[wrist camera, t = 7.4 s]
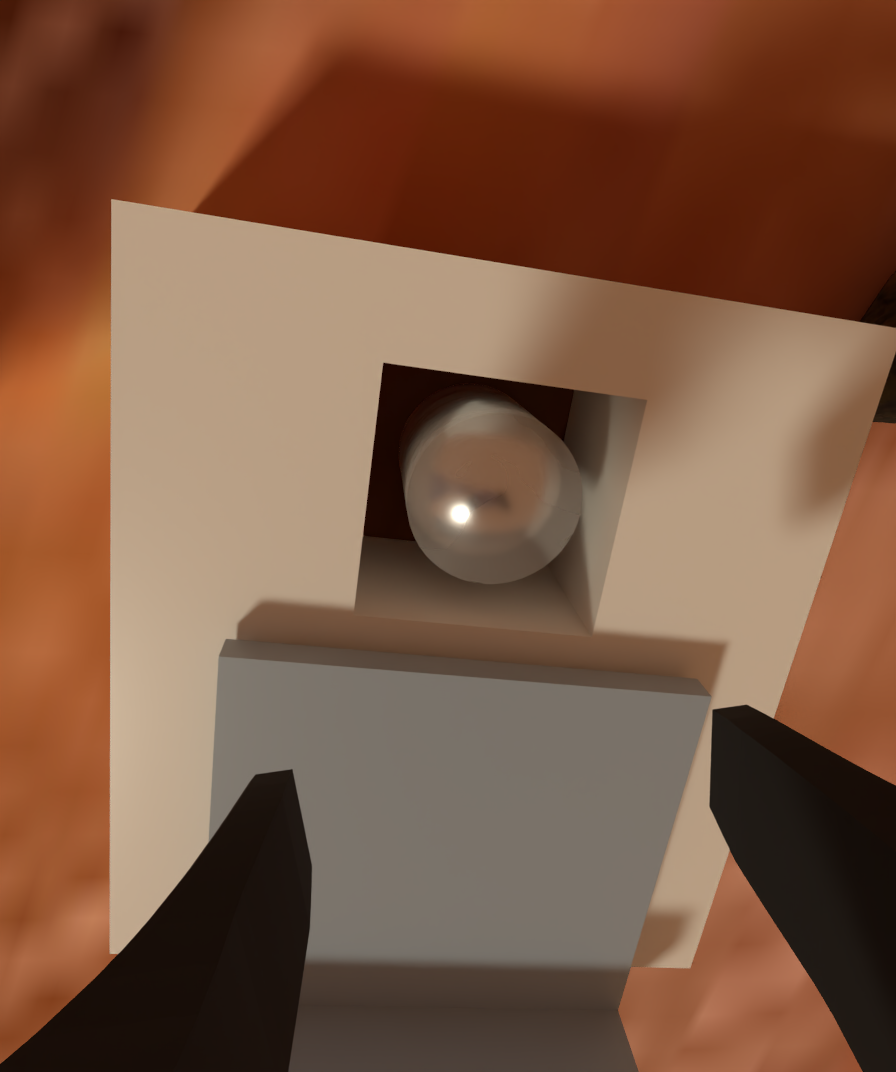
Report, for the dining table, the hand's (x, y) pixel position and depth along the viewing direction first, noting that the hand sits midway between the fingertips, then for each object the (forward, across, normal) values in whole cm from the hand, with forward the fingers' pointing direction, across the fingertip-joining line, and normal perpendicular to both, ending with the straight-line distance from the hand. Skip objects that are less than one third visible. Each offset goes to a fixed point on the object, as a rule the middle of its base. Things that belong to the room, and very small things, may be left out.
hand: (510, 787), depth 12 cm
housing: (+10, 0, +1) cm, 10 cm away
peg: (+10, -1, -3) cm, 11 cm away
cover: (+5, +1, +5) cm, 7 cm away
